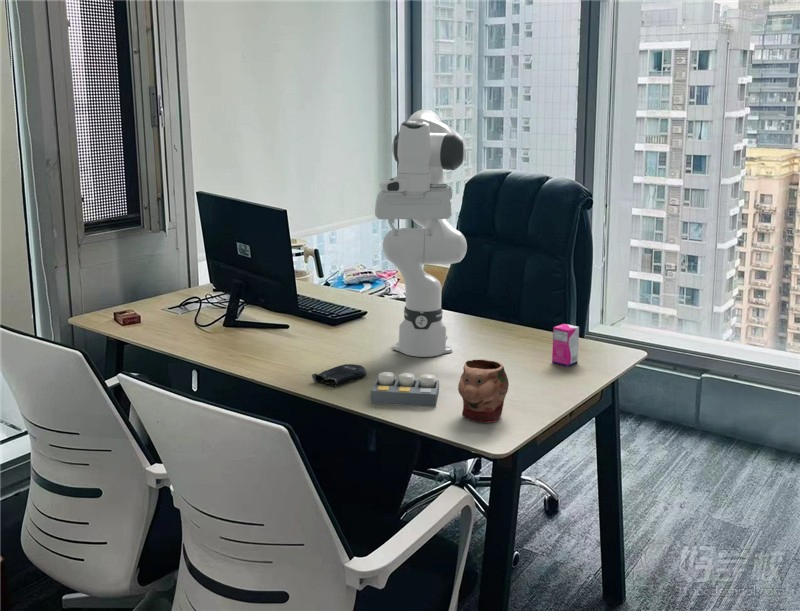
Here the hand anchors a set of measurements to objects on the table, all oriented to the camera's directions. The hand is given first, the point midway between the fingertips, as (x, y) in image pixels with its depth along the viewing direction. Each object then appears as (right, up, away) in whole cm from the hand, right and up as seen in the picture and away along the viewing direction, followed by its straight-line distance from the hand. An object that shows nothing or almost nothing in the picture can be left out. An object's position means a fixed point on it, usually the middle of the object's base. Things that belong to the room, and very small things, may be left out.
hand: (412, 235), depth 226 cm
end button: (-7, -40, +2) cm, 40 cm away
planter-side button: (+4, -40, +1) cm, 40 cm away
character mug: (+18, -47, -9) cm, 51 cm away
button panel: (-2, -44, +1) cm, 44 cm away
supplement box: (+47, -36, +32) cm, 67 cm away
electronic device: (-20, -40, +16) cm, 47 cm away
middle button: (-2, -40, +2) cm, 40 cm away
